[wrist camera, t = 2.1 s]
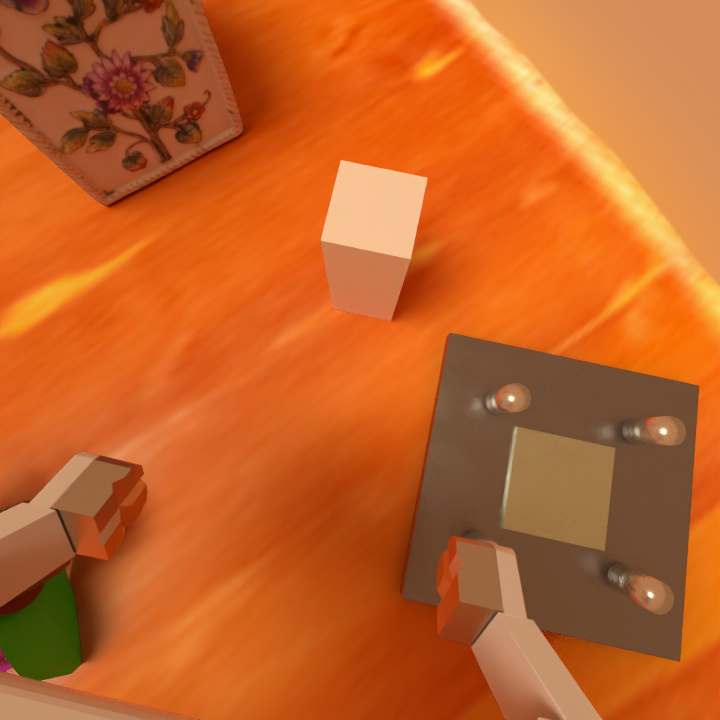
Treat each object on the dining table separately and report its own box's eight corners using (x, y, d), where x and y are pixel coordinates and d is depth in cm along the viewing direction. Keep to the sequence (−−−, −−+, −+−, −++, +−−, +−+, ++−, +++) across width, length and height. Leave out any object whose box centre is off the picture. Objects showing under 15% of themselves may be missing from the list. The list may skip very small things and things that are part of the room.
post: (390, 321, 28) (410, 259, 18) (332, 309, 28) (320, 240, 18) (402, 266, 29) (427, 177, 19) (345, 254, 29) (341, 160, 19)
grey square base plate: (667, 652, 25) (726, 694, 21) (399, 591, 25) (408, 620, 21) (686, 387, 27) (742, 379, 24) (446, 336, 28) (461, 320, 24)
